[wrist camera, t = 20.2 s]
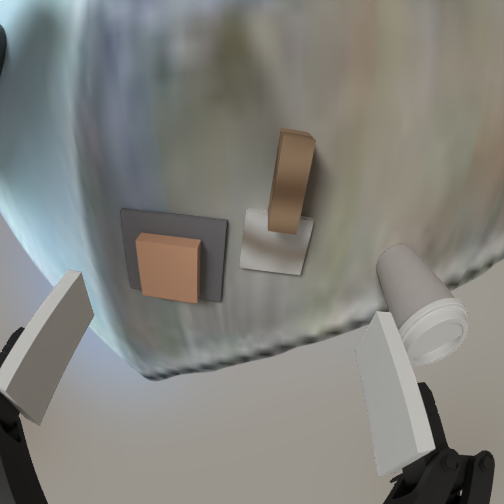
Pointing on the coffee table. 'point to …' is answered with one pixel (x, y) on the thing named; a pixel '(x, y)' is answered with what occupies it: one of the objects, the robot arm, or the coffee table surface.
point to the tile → (169, 267)
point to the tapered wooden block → (282, 211)
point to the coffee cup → (421, 306)
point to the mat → (185, 227)
